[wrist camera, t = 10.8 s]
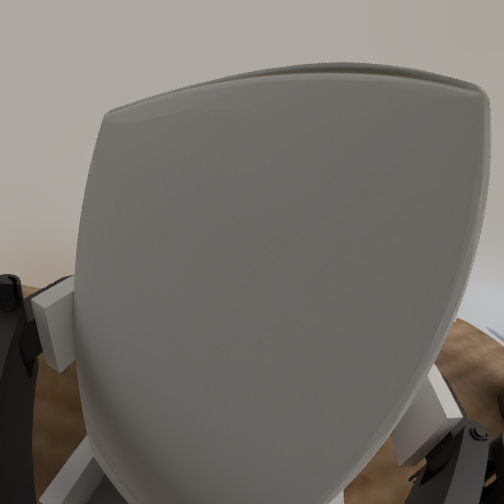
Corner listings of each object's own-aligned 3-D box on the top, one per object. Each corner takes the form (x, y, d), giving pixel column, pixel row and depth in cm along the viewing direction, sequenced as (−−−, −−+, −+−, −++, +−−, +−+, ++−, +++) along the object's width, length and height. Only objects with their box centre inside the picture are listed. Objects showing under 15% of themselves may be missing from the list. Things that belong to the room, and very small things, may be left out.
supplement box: (215, 585, 4) (505, 59, 1) (88, 453, 9) (96, 106, 6) (326, 479, 11) (455, 210, 8) (212, 405, 16) (271, 168, 13)
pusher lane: (306, 589, 5) (377, 580, 3) (63, 518, 6) (11, 477, 4) (315, 374, 26) (341, 318, 23) (184, 337, 27) (192, 277, 25)
